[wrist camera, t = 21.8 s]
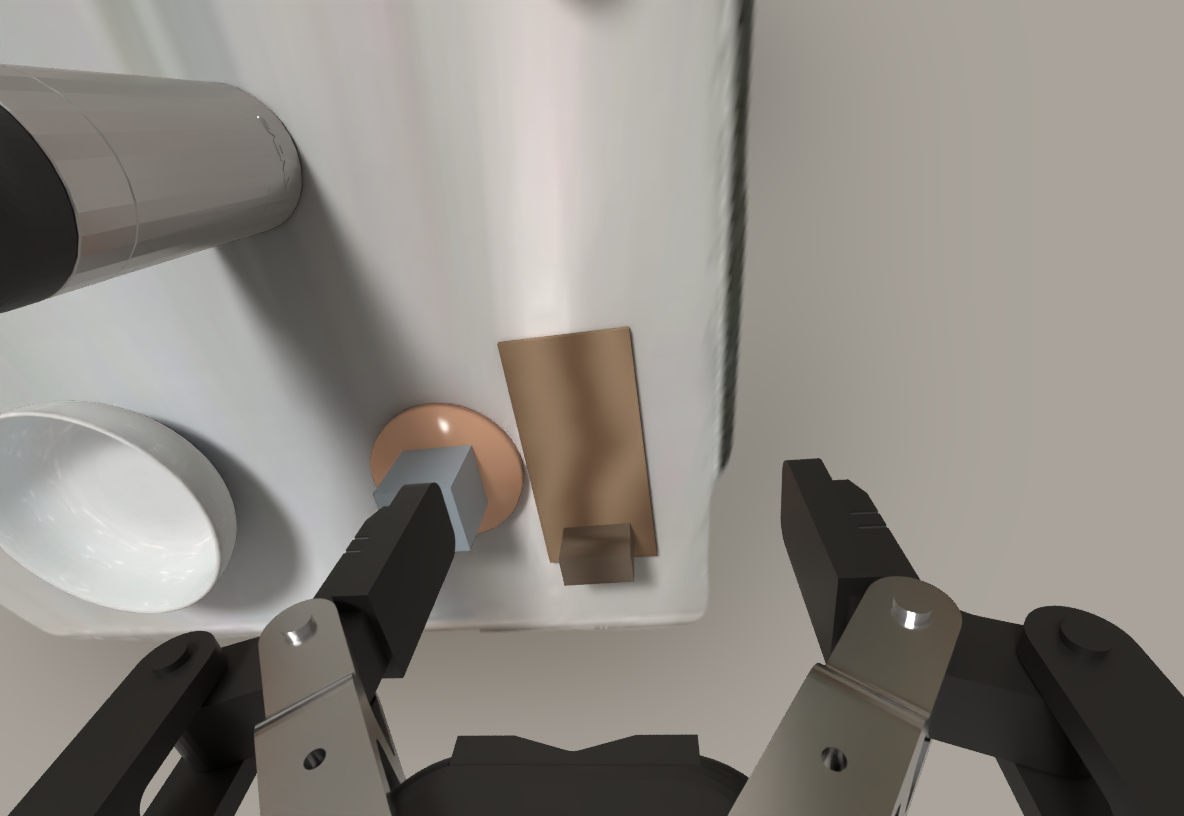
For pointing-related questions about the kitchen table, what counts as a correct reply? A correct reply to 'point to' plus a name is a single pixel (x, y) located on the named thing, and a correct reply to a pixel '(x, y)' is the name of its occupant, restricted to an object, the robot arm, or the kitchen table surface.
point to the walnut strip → (583, 450)
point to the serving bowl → (112, 506)
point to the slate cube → (442, 486)
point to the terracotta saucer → (456, 428)
